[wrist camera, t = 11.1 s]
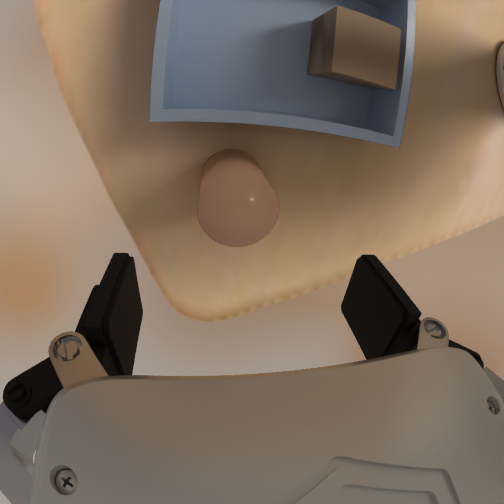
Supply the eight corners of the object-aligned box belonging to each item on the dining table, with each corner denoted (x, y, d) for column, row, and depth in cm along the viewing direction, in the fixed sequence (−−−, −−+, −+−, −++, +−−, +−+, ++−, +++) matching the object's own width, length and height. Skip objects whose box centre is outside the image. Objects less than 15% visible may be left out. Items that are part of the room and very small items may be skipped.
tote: (383, 5, 15) (415, -5, 11) (368, 135, 22) (399, 148, 18) (179, -32, 12) (172, -57, 8) (162, 115, 20) (149, 122, 15)
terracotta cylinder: (264, 151, 22) (283, 174, 16) (257, 206, 25) (273, 247, 19) (202, 148, 21) (198, 170, 16) (200, 204, 24) (197, 246, 18)
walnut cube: (312, 20, 16) (337, 5, 12) (367, 36, 17) (401, 29, 13) (306, 74, 19) (331, 71, 14) (362, 87, 19) (395, 89, 15)
